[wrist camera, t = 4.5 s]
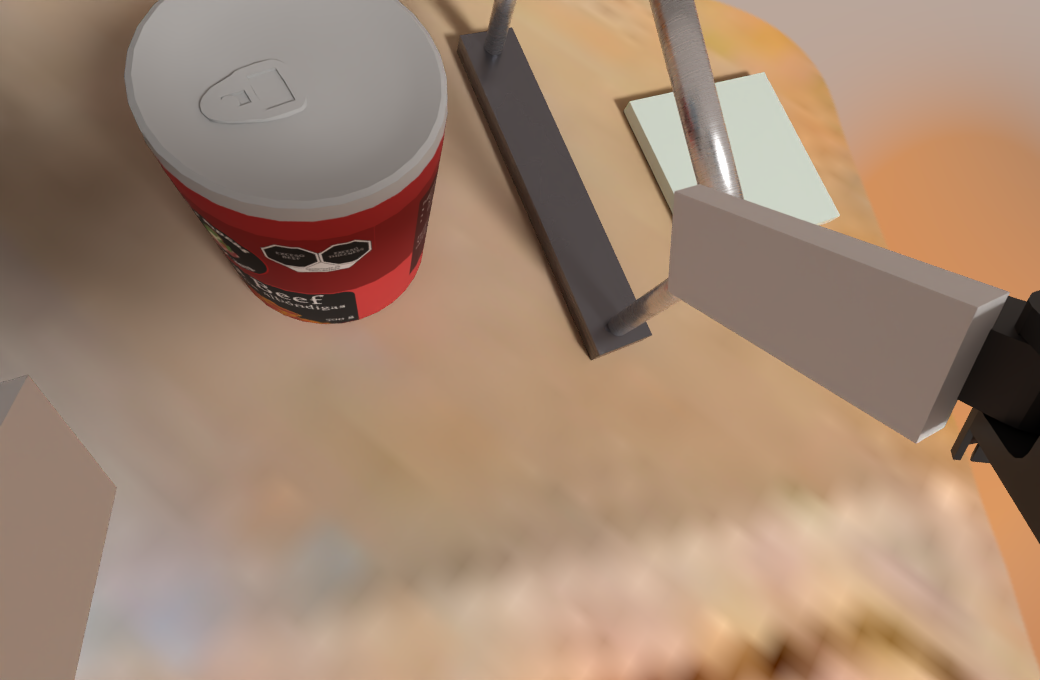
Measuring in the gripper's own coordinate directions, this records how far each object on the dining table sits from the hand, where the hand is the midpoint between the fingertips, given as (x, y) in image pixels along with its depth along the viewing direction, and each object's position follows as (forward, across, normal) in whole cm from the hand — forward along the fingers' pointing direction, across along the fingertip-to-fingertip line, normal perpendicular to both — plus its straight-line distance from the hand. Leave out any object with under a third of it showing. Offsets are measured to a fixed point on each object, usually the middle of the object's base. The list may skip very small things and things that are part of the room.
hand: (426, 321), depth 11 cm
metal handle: (+14, +10, -3) cm, 18 cm away
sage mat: (+13, +22, -4) cm, 26 cm away
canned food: (+14, -1, -4) cm, 15 cm away
